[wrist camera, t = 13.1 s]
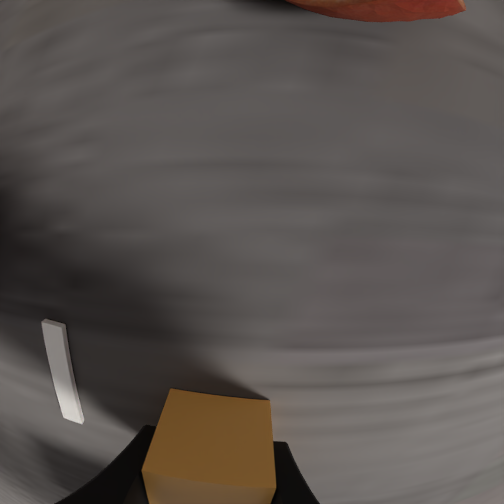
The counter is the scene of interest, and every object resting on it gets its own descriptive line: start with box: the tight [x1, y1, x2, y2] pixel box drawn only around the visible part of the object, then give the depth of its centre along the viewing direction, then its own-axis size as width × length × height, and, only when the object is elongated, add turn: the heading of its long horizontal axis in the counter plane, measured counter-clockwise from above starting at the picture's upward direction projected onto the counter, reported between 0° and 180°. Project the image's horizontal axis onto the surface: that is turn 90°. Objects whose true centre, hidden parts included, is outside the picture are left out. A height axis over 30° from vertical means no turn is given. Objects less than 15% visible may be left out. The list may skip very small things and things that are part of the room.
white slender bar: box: [41, 319, 84, 424], centre depth 10 cm, size 1×5×1 cm, turn 172°
